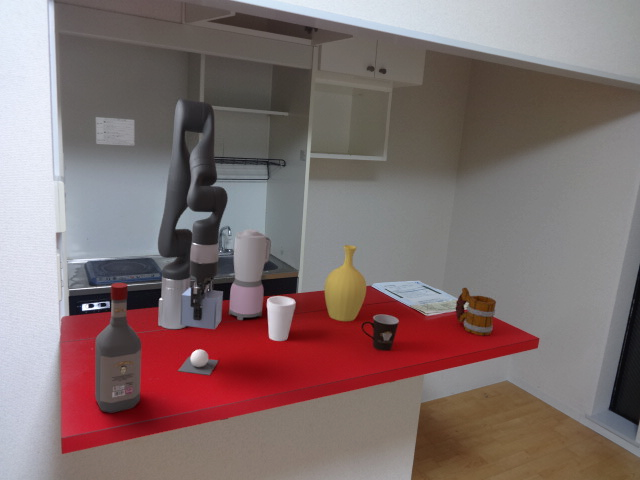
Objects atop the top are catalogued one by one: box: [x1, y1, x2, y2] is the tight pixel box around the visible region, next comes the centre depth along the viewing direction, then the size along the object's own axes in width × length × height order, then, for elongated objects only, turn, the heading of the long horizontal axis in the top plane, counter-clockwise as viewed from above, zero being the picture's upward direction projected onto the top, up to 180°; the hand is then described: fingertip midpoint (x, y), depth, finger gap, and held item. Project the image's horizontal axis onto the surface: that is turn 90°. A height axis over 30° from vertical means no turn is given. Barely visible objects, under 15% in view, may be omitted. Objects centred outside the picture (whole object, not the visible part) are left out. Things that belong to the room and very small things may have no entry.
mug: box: [455, 287, 497, 336], centre depth 194 cm, size 11×16×15 cm, turn 41°
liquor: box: [94, 282, 142, 414], centre depth 119 cm, size 9×9×30 cm
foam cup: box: [266, 295, 296, 342], centre depth 168 cm, size 10×9×13 cm
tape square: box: [177, 356, 219, 376], centre depth 144 cm, size 9×9×1 cm
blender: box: [228, 228, 272, 321], centre depth 184 cm, size 16×12×32 cm
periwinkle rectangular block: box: [180, 287, 224, 330], centre depth 140 cm, size 10×7×9 cm
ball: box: [190, 348, 209, 367], centre depth 143 cm, size 5×5×5 cm
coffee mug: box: [361, 314, 400, 352], centre depth 170 cm, size 12×9×10 cm
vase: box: [324, 244, 367, 322], centre depth 192 cm, size 16×16×28 cm
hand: (201, 315), depth 141 cm, fingers closed on periwinkle rectangular block, 6 cm apart
